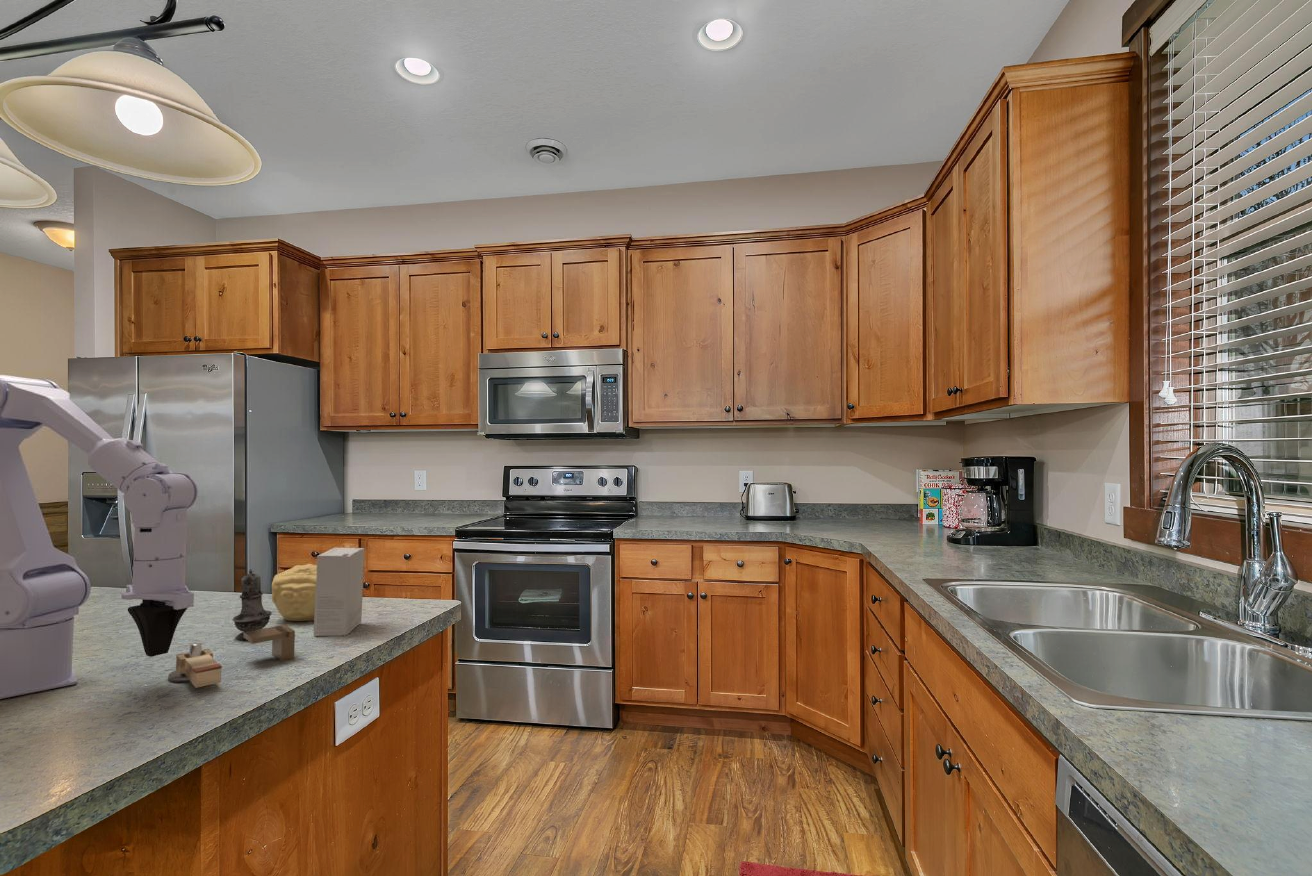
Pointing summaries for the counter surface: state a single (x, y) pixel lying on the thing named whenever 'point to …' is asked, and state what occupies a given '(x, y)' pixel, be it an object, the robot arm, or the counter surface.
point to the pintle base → (193, 652)
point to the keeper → (275, 640)
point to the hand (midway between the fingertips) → (157, 654)
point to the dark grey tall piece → (251, 607)
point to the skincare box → (338, 591)
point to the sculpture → (295, 592)
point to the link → (199, 668)
